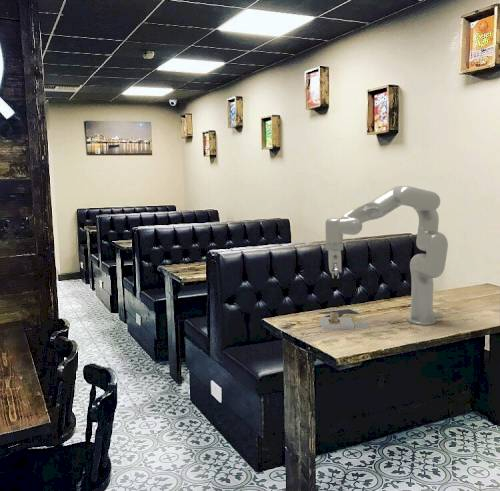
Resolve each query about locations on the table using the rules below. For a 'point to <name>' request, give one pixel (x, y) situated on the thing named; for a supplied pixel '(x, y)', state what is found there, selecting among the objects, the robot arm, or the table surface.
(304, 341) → the table surface
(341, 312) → the picture frame
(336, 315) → the peg
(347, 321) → the block
